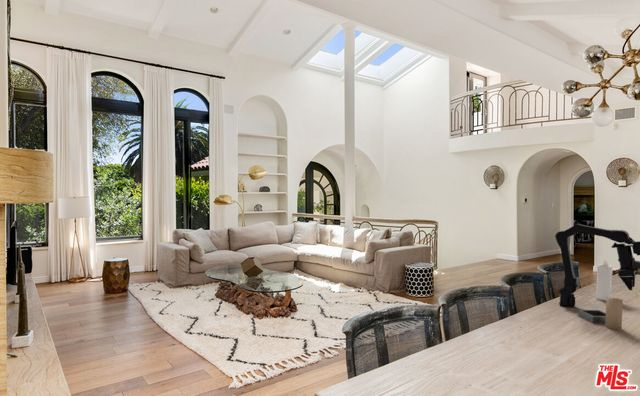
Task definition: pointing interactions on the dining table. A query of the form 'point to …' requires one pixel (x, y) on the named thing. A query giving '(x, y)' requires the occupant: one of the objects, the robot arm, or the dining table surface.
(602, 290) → the milk
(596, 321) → the tray
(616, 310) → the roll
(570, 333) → the dining table surface
